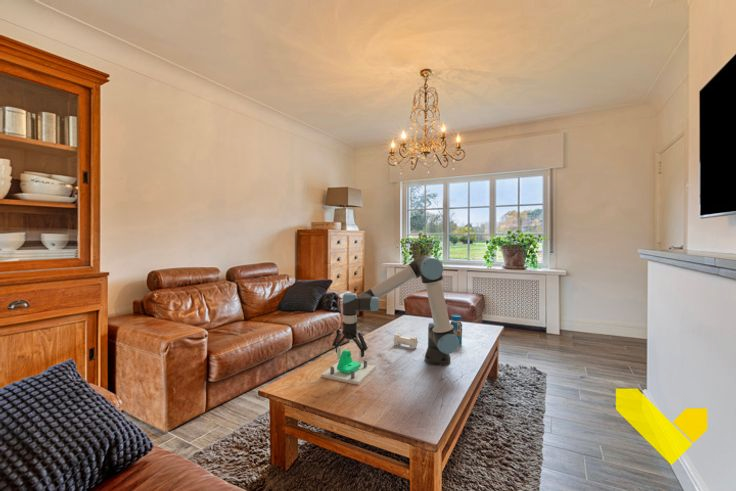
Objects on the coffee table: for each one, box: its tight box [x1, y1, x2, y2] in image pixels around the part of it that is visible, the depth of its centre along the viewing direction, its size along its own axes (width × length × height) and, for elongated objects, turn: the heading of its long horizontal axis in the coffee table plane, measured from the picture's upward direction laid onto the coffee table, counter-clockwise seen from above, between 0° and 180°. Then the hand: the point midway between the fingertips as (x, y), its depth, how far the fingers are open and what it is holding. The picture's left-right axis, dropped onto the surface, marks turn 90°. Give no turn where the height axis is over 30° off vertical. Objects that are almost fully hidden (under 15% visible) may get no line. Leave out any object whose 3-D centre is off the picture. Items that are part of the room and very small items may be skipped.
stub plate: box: [320, 359, 377, 386], centre depth 184 cm, size 22×22×5 cm
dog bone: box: [392, 332, 419, 350], centre depth 228 cm, size 15×9×8 cm, turn 56°
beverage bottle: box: [450, 314, 463, 347], centre depth 233 cm, size 8×8×20 cm
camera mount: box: [337, 349, 362, 373], centre depth 184 cm, size 12×8×10 cm, turn 145°
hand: (349, 360), depth 184 cm, fingers open, 13 cm apart
